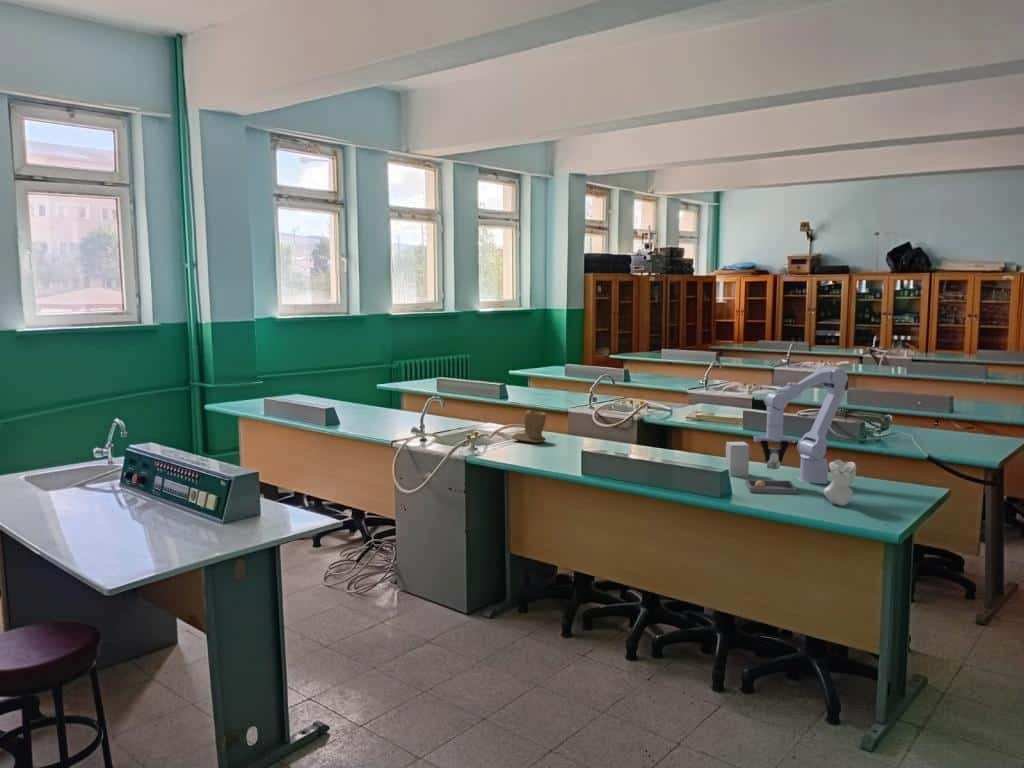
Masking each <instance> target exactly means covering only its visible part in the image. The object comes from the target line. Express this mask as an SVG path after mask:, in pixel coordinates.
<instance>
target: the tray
mask: <svg viewBox="0 0 1024 768" xmlns="http://www.w3.org/2000/svg"><path fill="white" fill-rule="evenodd" d="M744 481H745V486H746V488H747V490H748V492H749V493H750V494H774V495H775V494H777V495H779V494H780V495H797V494H798V488H796V485H794V484H793V482H792V481H791V480H778V479H777V480H775V479H774V480H772V479H769V480H768V479H745V480H744ZM757 481H763V482H764V483H765V488H756V487H755V483H756V482H757Z"/></svg>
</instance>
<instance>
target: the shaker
mask: <svg viewBox="0 0 1024 768" xmlns="http://www.w3.org/2000/svg"><path fill="white" fill-rule="evenodd" d="M780 463H781V462H780V447H779V448H778V447H768V462H767V461H766V468H767V469H770V470H779V469H780V467H781V466H780Z"/></svg>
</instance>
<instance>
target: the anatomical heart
mask: <svg viewBox="0 0 1024 768" xmlns="http://www.w3.org/2000/svg"><path fill="white" fill-rule="evenodd" d="M828 469H829V470H830V473H831V476H832V478H833V480H832V481H831V482H830V484H828V486H825V488H824V489H823V494H824V496H825V497H826V498H827V499H828V500H829V501H830V502H832V503H833V504H836V505H837V506H839V507H844V506H846V505H848V504H849V502H850V500H851V499H852V497H853V495H854V493H853V490H852V489H851V488H850V486H852V484H853V483H854V480H855V477H856V475H857V472H856V470H857V465H856V463H855V462H854V461H846V462H845V461H842V460H841V459H835V460H833V461H831V462H829V463H828Z"/></svg>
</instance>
